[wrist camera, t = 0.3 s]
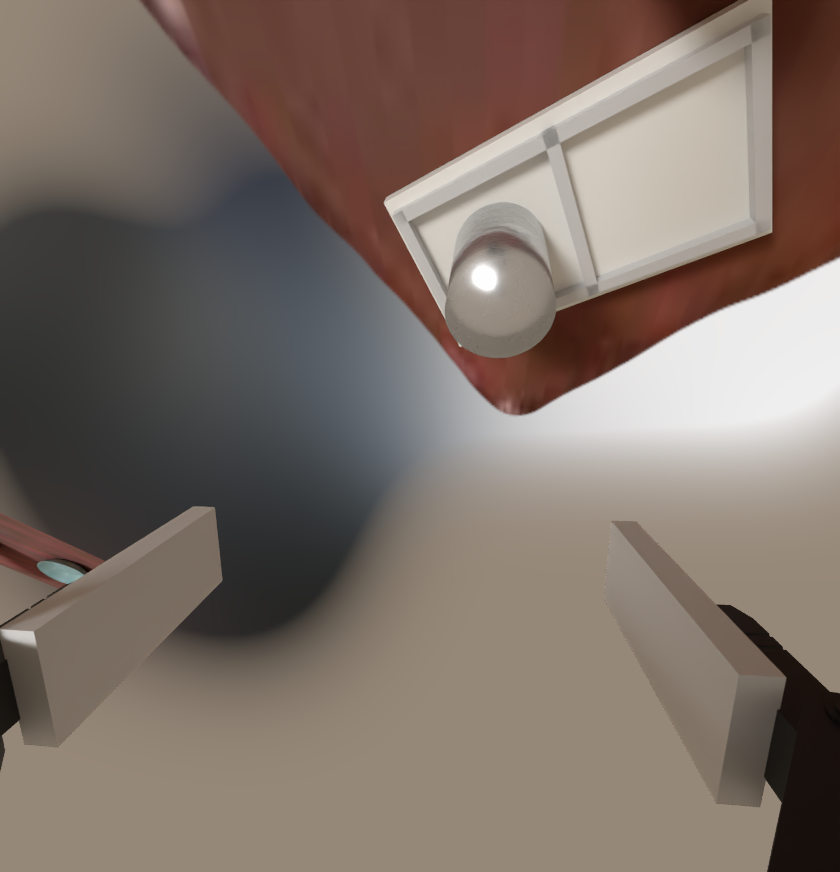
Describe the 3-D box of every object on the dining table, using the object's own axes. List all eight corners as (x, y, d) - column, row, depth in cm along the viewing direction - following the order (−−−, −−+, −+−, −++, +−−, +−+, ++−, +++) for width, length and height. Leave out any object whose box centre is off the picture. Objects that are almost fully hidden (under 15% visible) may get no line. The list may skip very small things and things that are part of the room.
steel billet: (440, 228, 39) (425, 286, 32) (528, 184, 36) (536, 238, 28) (475, 303, 44) (470, 370, 36) (556, 270, 41) (569, 337, 33)
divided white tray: (386, 197, 40) (381, 207, 38) (761, -13, 28) (781, -13, 26) (460, 339, 49) (459, 353, 47) (764, 225, 38) (778, 238, 36)
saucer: (37, 561, 108) (30, 569, 107) (52, 548, 102) (45, 557, 100) (86, 582, 114) (80, 590, 112) (103, 571, 108) (97, 579, 106)
